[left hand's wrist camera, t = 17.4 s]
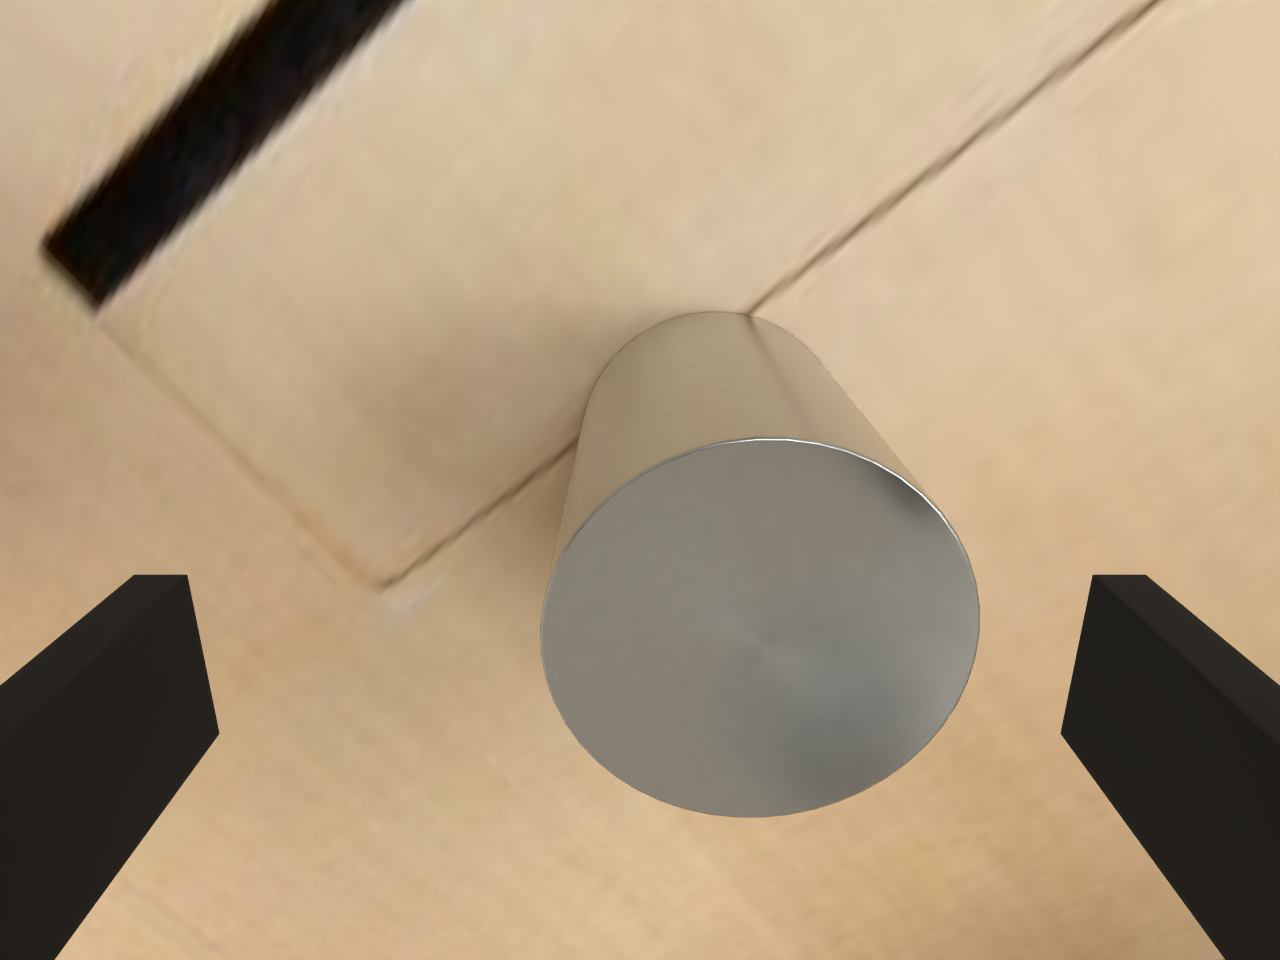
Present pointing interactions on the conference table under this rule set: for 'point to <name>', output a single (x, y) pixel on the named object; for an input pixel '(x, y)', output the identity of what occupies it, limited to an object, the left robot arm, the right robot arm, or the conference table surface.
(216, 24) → the conference table surface
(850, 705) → the can
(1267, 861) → the left robot arm
